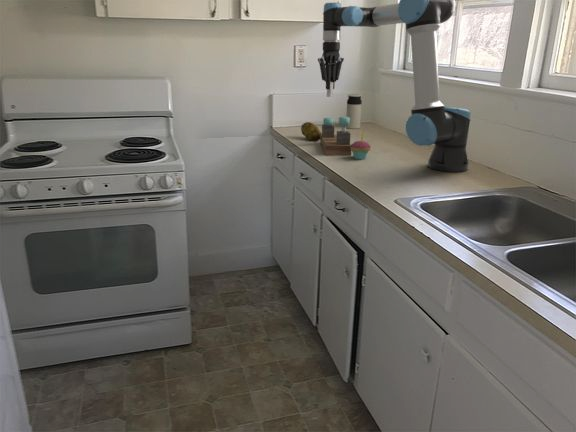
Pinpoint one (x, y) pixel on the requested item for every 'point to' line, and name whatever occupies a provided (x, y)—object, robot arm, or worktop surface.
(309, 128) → the potato
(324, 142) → the mount
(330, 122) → the knob far
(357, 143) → the cupcake
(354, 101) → the travel mug
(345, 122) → the knob near
